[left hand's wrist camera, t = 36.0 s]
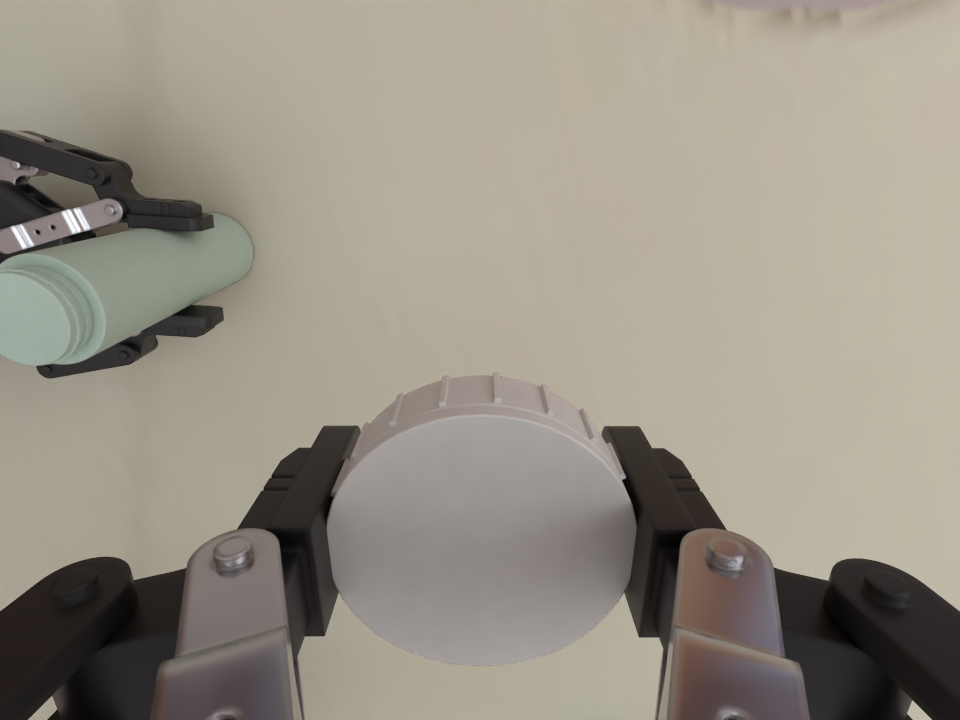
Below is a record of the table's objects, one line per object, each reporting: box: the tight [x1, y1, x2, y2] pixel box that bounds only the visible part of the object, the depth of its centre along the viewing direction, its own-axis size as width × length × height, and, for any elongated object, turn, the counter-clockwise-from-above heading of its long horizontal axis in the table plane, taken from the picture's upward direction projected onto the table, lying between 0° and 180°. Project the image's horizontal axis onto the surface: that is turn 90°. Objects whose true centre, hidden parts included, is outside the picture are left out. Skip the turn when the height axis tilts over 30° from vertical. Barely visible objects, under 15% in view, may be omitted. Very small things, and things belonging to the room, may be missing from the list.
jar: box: [0, 213, 254, 366], centre depth 29 cm, size 5×5×17 cm
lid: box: [326, 373, 637, 666], centre depth 10 cm, size 6×6×2 cm
